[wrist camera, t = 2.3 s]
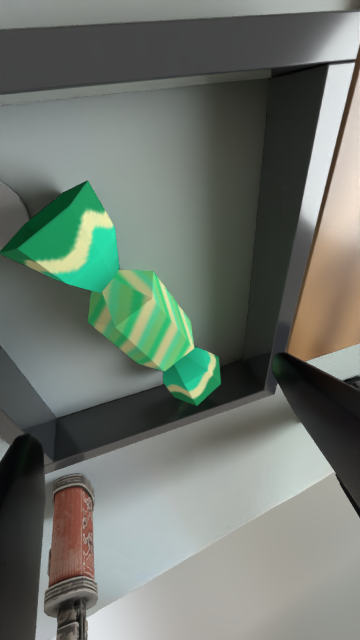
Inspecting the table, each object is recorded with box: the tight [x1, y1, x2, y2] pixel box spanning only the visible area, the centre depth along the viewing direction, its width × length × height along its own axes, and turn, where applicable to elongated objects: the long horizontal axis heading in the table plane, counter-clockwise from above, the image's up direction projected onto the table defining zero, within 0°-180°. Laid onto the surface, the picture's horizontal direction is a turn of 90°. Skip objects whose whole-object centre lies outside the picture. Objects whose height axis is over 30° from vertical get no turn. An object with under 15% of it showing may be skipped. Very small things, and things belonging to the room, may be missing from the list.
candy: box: [0, 181, 221, 406], centre depth 12 cm, size 12×3×4 cm
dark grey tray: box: [0, 9, 360, 474], centre depth 12 cm, size 16×18×3 cm
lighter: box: [44, 474, 98, 640], centre depth 21 cm, size 8×3×10 cm, turn 175°
